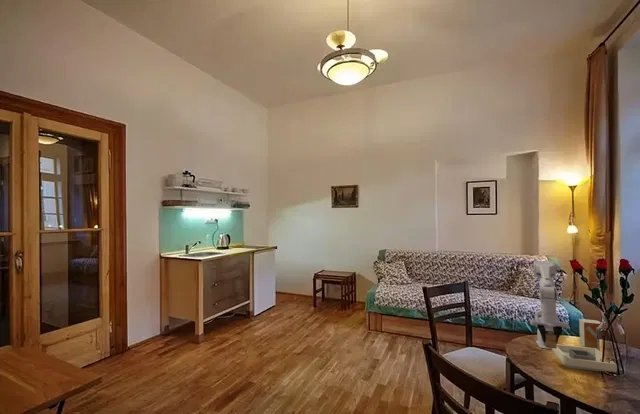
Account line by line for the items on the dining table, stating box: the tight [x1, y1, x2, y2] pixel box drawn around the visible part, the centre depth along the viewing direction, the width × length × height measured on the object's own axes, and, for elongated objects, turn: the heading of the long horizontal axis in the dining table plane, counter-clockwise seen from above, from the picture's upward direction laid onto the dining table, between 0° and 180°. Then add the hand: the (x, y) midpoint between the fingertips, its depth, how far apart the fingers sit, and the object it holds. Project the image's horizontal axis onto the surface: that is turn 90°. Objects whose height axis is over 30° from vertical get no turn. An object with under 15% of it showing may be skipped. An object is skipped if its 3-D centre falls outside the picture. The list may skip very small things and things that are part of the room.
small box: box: [578, 318, 602, 349], centre depth 166 cm, size 8×6×13 cm
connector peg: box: [543, 330, 557, 349], centre depth 147 cm, size 4×4×7 cm
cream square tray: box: [551, 343, 618, 373], centre depth 147 cm, size 18×18×4 cm
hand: (549, 342), depth 147 cm, fingers closed on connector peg, 4 cm apart
